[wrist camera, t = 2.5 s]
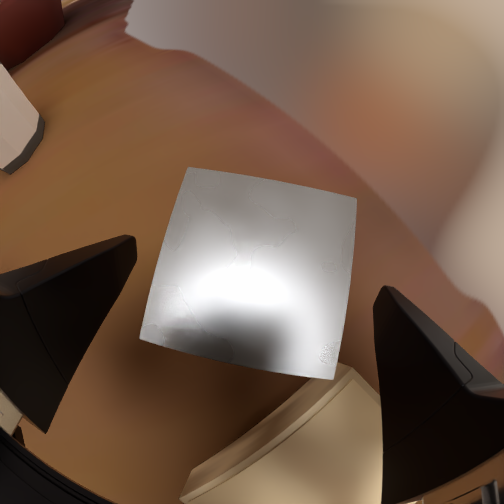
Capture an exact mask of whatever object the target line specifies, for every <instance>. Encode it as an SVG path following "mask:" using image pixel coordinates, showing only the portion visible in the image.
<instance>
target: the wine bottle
mask: <svg viewBox="0 0 504 504" xmlns="http://www.w3.org/2000/svg"><path fill="white" fill-rule="evenodd" d="M44 124H45V122H44V120H43V118H42V117H41V116H40V114H39V113H38V112H37V111H36V109H35V108H34V107H33V105H32V104H31V103H30V102H29V100H28V99H27V98H26V96H25V95H24V94H23V92H22V91H21V90H20V88H19V87H18V86H17V84H16V83H15V82H14V80H13V79H12V78H11V76H10V75H9V73H8V72H7V71H6V69H5V68H4V66H3V65H2V63H1V62H0V169H1V170H3V171H5V172H7V173H9V174H12V173H13V172H14V171H15V170H17V169H18V168H19V167H21V166H22V165H23V164H24V163H26V162H27V161H28V160H29V158H30V157H31V155H32V153H33V152H34V150H35V149H36V147H37V146H38V144H39V143H40V141H41V140H42V138H43V131H44Z"/></svg>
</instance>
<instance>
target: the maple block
mask: <svg viewBox="0 0 504 504" xmlns="http://www.w3.org/2000/svg"><path fill="white" fill-rule="evenodd" d="M382 465H383V441H382V416H381V401H380V395H379V394H378V393H377V392H376V391H375V390H374V389H373V388H372V387H371V386H370V385H369V384H368V383H367V382H366V381H365V380H364V379H363V378H362V377H361V376H360V375H359V374H358V373H357V372H356V371H355V369H354V368H353V367H350V366H347V365H344V364H341V363H339V362H337V365H336V370H335V374H334V379H333V380H330V379H321V378H311V379H310V380H309V381H307V382H306V383H305V384H304V385H303V386H302V387H301V388H300V389H299V390H298V391H296V392H295V393H294V394H293V395H292V396H291V397H290V398H289V399H287V400H286V401H285V402H284V403H283V404H282V405H280V406H279V407H278V408H277V409H276V410H274V411H273V412H272V413H271V414H270V415H268V416H267V417H266V418H265V419H263V420H262V421H261V422H260V423H258V424H257V425H256V426H254V427H253V428H252V429H251V430H249V431H248V432H247V433H245V434H244V435H243V436H241V437H240V438H238V439H237V440H236V441H234V442H233V443H232V444H230V445H229V446H227V447H226V448H224V449H223V450H221V451H220V452H219V453H217V454H216V455H214V456H213V457H211V458H209V459H208V460H206V461H205V462H203V463H202V464H200V465H199V466H197V467H195V468H194V469H192V471H191V473H190V475H189V477H188V480H187V482H186V484H185V486H184V488H183V490H182V492H181V495H180V497H179V500H181V501H182V502H183V503H184V504H381V495H382ZM416 502H417V501H415V502H411V503H407V504H414V503H416Z"/></svg>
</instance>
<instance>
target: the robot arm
mask: <svg viewBox="0 0 504 504" xmlns="http://www.w3.org/2000/svg"><path fill="white" fill-rule="evenodd" d="M136 261H137V247H136V239H135V237H134V236H130V235H121V236H118V237H115V238H111V239H108V240H105V241H101V242H98V243H95V244H92V245H89V246H85V247H82V248H79V249H76V250H73V251H70V252H67V253H64V254H61V255H58V256H55V257H52V258H49V259H48V260H47V259H46V260H43V261H40V262H37V263H34V264H32V265H29V266H25V267H22V268H19V269H16V270H13V271H9V272H6V273H3V274H0V504H117V503H115V502H113V501H111V500H109V499H106V498H104V497H102V496H100V495H98V494H96V493H95V492H93V491H91V490H89V489H87V488H85V487H83V486H82V485H80V484H78V483H76V482H75V481H73V480H71V479H70V478H68V477H67V476H65V475H63V474H62V473H60V472H59V471H57V470H56V469H54V468H53V467H51V466H50V465H48V464H47V463H45V462H44V461H43V460H41V459H40V458H39V457H37V456H36V455H35V454H33V453H32V452H31V451H29V450H28V449H27V448H26V447H25V444H24V439H23V435H22V430H21V427H19V426H18V424H19V423H20V421H21V419H22V417H23V418H24V419H26V420H27V421H28V422H30V423H31V424H32V425H34V426H35V427H36V428H38V429H39V430H40V431H42V432H43V433H45V434H46V433H47V431H48V429H49V427H50V424H51V422H52V420H53V417H54V415H55V413H56V411H57V409H58V406H59V404H60V402H61V400H62V398H63V396H64V394H65V392H66V389H67V387H68V385H69V383H70V381H71V379H72V377H73V375H74V373H75V371H76V369H77V367H78V365H79V364H80V362H81V360H82V358H83V356H84V354H85V352H86V351H87V349H88V347H89V345H90V343H91V342H92V340H93V338H94V336H95V335H96V333H97V331H98V329H99V328H100V326H101V324H102V323H103V321H104V319H105V317H106V316H107V314H108V313H109V311H110V309H111V308H112V306H113V304H114V303H115V301H116V300H117V298H118V296H119V295H120V293H121V291H122V289H123V287H124V285H125V283H126V281H127V279H128V277H129V275H130V273H131V271H132V269H133V267H134V265H135V263H136ZM373 321H374V344H375V353H376V361H377V369H378V378H379V389H380V401H381V416H382V441H383V465H382V495H381V504H407V503H411V502H415V501H419V500H422V504H504V384H502V383H501V382H500V381H499V380H497V379H496V378H495V377H494V376H493V375H492V374H491V373H490V372H488V371H487V370H486V369H485V368H484V367H483V366H482V365H480V364H479V363H478V362H477V361H476V360H475V359H474V358H473V357H471V356H470V355H469V354H468V353H467V352H466V351H465V350H464V349H463V348H462V347H461V346H460V345H459V344H458V343H457V342H454V340H453V339H452V338H451V337H450V336H449V335H448V334H447V333H446V332H445V331H444V330H442V329H441V328H440V327H439V326H438V325H437V324H436V323H435V322H434V321H433V320H431V319H430V318H429V317H428V316H427V315H426V314H425V313H423V312H422V311H421V310H420V309H419V308H418V307H417V306H415V305H414V304H413V303H412V302H411V301H410V300H409V299H407V298H406V297H405V296H404V295H403V294H401V293H400V292H399V291H398V290H397V289H395V288H394V287H391V286H386V285H384V286H383V287H382V288H381V290H380V292H379V294H378V296H377V298H376V300H375V302H374V305H373Z"/></svg>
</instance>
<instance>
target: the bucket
mask: <svg viewBox="0 0 504 504" xmlns="http://www.w3.org/2000/svg"><path fill="white" fill-rule="evenodd" d="M64 25H65V23H64V17H63V11H62V5H61V0H0V62H1V63H2V65H3V66H4V68H5V69H6V70H9V69H10V68H12V67H14V66H16V65H18V64H20V63H22V62H24V61H25V60H26V59H27V58H29V57H30V56H31V55H32V54H33V53H35V52H36V51H37V50H38V49H40V48H41V47H42V46H44V45H45V44H46V43H48V42H49V41H50V40H52V39H53V37H54V36H55V35H56V34H57V33H58V32H59V31H60V30H61V29H62V28H63V26H64Z"/></svg>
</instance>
